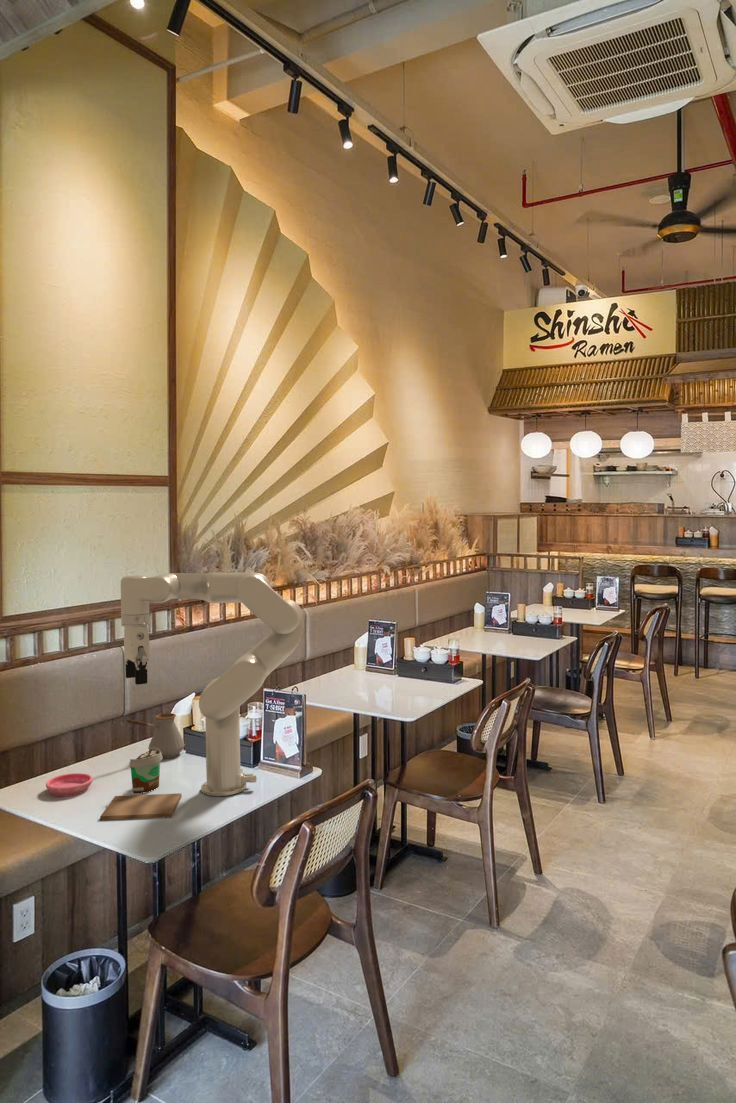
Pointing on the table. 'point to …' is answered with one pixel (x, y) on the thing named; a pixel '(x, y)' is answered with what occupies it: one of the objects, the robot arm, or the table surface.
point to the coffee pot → (164, 735)
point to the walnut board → (141, 806)
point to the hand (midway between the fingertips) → (136, 680)
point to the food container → (146, 771)
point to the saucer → (69, 784)
